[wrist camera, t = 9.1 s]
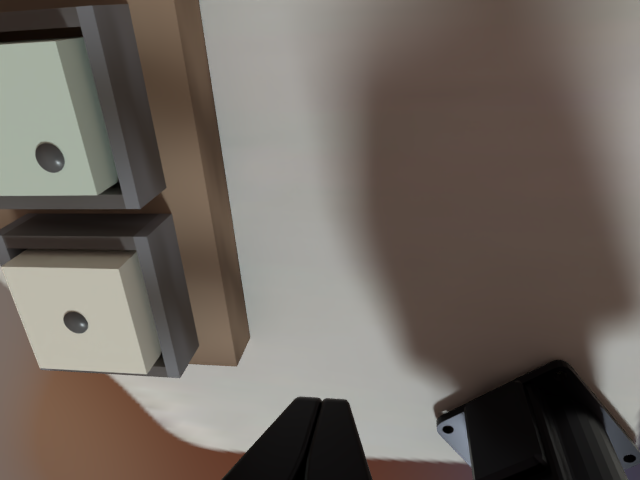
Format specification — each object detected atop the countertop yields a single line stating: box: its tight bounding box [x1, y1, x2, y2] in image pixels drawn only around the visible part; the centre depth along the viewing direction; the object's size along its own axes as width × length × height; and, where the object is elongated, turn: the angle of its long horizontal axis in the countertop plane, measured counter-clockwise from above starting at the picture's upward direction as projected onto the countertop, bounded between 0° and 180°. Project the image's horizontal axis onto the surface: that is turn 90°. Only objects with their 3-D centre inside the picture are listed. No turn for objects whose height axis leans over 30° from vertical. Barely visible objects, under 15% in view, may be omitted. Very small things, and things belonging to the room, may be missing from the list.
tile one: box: [1, 249, 162, 374], centre depth 19 cm, size 4×4×2 cm
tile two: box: [0, 36, 119, 196], centre depth 16 cm, size 4×4×2 cm
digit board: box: [0, 0, 250, 378], centre depth 17 cm, size 22×9×4 cm, turn 4°
